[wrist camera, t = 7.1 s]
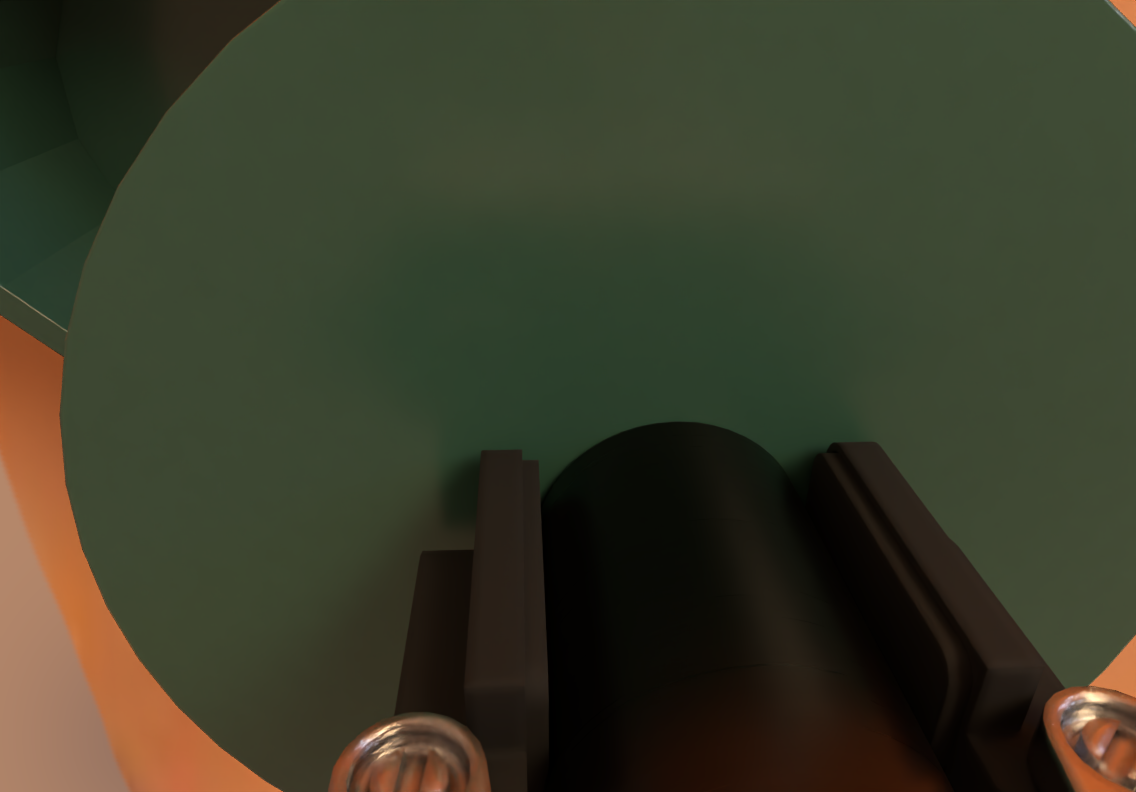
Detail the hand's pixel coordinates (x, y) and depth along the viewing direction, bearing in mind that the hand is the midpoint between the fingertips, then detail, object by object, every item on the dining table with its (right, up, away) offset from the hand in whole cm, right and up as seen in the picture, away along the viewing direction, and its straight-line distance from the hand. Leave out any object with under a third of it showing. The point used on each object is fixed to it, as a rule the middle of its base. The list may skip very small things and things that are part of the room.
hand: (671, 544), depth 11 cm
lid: (0, 0, +1) cm, 1 cm away
